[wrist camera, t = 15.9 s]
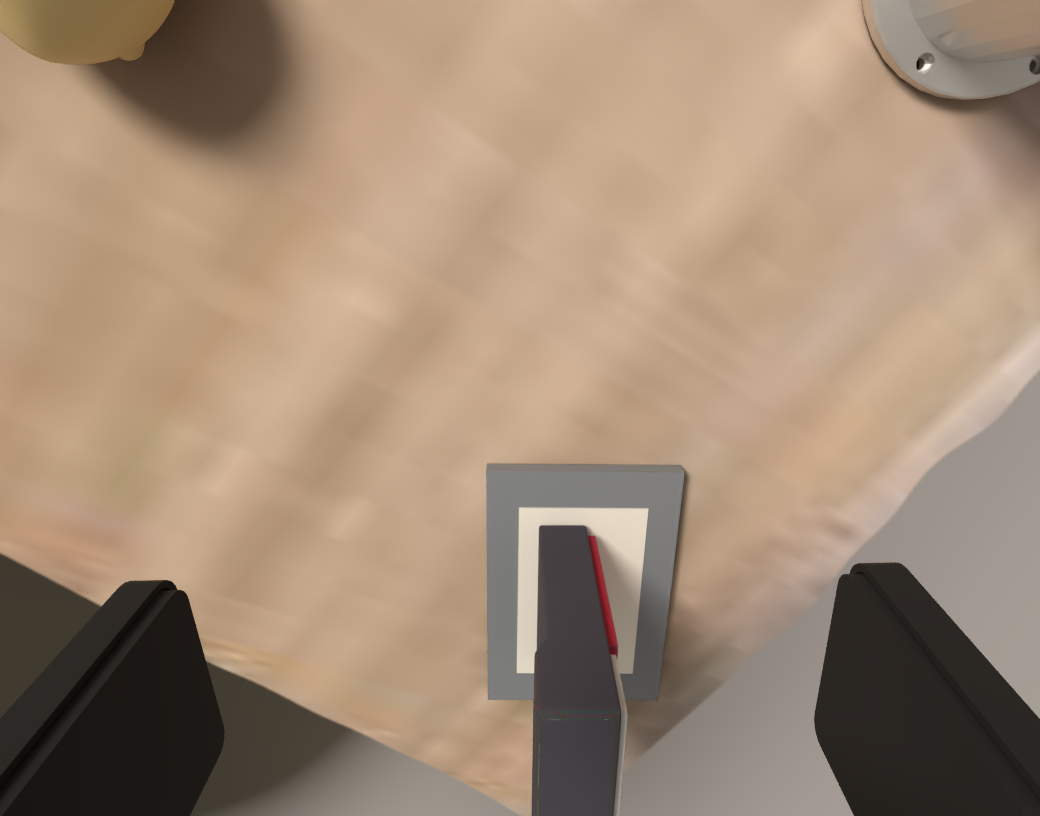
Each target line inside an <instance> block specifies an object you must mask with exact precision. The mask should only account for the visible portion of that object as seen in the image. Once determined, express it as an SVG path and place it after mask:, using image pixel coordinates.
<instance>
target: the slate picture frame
mask: <svg viewBox="0 0 1040 816" xmlns="http://www.w3.org/2000/svg"><path fill="white" fill-rule="evenodd" d="M684 473H685V472H684V471H683V469H682V467H681V465H596V464H487V471H486V477H487V632H488V700H534V657H535V652H536V651H537V602H538V547H539V527H540V526H541V525H584V526H586V528H587V534H588V536H595V537H596V541H597V546H598V551H599V556H600V560H601V565H602V570H603V575H604V580H605V584H606V589H607V594H608V599H609V603H610V608H611V613H612V618H613V623H614V627H615V632H616V637H617V642H618V658H617V662H618V667H619V672H620V677H621V682H622V687H623V692H624V697H625V700H658V695H659V687H660V678H661V670H662V661H663V653H664V644H665V636H666V627H667V618H668V610H669V601H670V593H671V584H672V576H673V567H674V559H675V550H676V541H677V533H678V524H679V516H680V507H681V499H682V490H683V482H684Z"/></svg>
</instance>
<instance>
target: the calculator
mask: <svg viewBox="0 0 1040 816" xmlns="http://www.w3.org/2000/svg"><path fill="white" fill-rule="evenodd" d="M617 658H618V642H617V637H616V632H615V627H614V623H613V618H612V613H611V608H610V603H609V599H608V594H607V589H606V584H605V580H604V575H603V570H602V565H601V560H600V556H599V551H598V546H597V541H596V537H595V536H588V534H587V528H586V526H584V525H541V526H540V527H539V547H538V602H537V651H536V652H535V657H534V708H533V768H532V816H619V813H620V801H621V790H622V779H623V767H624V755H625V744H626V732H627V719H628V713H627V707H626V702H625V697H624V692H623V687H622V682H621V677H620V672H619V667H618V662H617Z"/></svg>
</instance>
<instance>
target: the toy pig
mask: <svg viewBox="0 0 1040 816" xmlns="http://www.w3.org/2000/svg"><path fill="white" fill-rule="evenodd" d="M174 1H175V0H0V32H1V33H2V34H4V35H5V36H6V37H7V38H9V39H10V40H11V41H12V42H14V43H15V44H16V45H18V46H19V47H21V48H22V49H24V50H25V51H27V52H28V53H30V54H32V55H34V56H36V57H38V58H40V59H43V60H46V61H49V62H54V63H61V64H75V65H81V64H94V63H101V62H105V61H109V60H113V59H116V58H118V57H119V58H121V59H123V60H127V61H132V60H136V59H138V58H139V57H140V56H141V55H142V54H143V51H144V48H145V42H146V41H147V40H148V39H149V38H150V37H151V36H152V35H153V34H154V33H155V32H156V31H157V30H158V29H159V28H160V26H161V25H162V24H163V22H164V21H165V19H166V18H167V16H168V14H169V12H170V11H171V8H172V6H173V4H174Z"/></svg>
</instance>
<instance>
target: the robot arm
mask: <svg viewBox="0 0 1040 816" xmlns="http://www.w3.org/2000/svg"><path fill="white" fill-rule="evenodd" d="M862 3H863V11H864V16H865V19H866V22H867V25H868V29H869V32H870V35H871V38H872V40H873V42H874V44H875V45H876V47H877V49H878V51H879V52H880V54H881V56H882V58H883V59H884V61H885V62H886V63H887V64H888V65H889V66H890V67H891V68H892V69H893V71H894V72H895V73H896V74H897V75H898V76H899V77H900V78H902V79H903V80H905V81H906V82H908V83H909V84H911V85H912V86H914V87H915V88H917V89H918V90H921V91H923V92H926V93H929V94H932V95H934V96H937V97H941V98H949V99H957V100H969V99H985V98H990V97H996V96H1001V95H1006V94H1011V93H1013V92H1016V91H1018V90H1021V89H1023V88H1026V87H1029V86H1031V85H1034V84H1036V83H1038V82H1039V81H1040V0H862ZM917 60H918V61H919V67H918V69H917V68H916V62H917ZM814 722H815V730H816V735H817V738H818V741H819V744H820V746H821V748H822V750H823V752H824V754H825V756H826V758H827V761H828V763H829V765H830V767H831V769H832V771H833V773H834V775H835V777H836V779H837V781H838V783H839V786H840V788H841V790H842V791H843V794H844V796H845V798H846V800H847V802H848V804H849V806H850V808H851V810H852V812H853V814H854V816H1040V719H1039V718H1038V717H1037V715H1036V714H1035V713H1034V712H1033V711H1032V710H1031V709H1030V708H1029V706H1028V705H1027V704H1026V703H1025V702H1024V701H1023V700H1022V699H1021V697H1020V696H1019V695H1018V694H1017V693H1016V692H1015V690H1014V689H1013V688H1012V687H1011V686H1010V685H1009V684H1008V683H1007V681H1006V680H1005V679H1004V678H1003V677H1002V676H1001V675H1000V674H999V672H998V671H997V670H996V669H995V668H994V667H993V666H992V665H991V663H990V662H989V661H988V660H987V659H986V658H985V656H984V655H983V654H982V653H981V652H980V651H979V650H978V649H977V648H976V646H975V645H974V644H973V643H972V642H971V641H970V639H969V638H968V637H967V636H966V635H965V634H964V633H963V632H962V630H961V629H960V628H959V627H958V626H957V625H956V624H955V622H954V621H953V620H952V619H951V618H950V617H949V616H948V615H947V614H946V612H945V611H944V610H943V609H942V608H941V607H940V605H939V604H938V603H937V602H936V601H935V600H934V599H933V598H932V597H931V595H930V594H929V593H928V592H927V591H926V590H925V588H924V587H923V586H922V585H921V584H920V583H919V582H918V580H917V579H916V578H915V577H914V576H913V575H912V574H911V573H910V571H908V569H907V568H906V567H905V566H903V565H902V564H900V563H858V564H855V565H854V566H853V567H852V569H851V571H850V574H844V575H842V576H841V577H840V578H839V581H838V586H837V591H836V597H835V602H834V608H833V614H832V619H831V625H830V631H829V636H828V642H827V647H826V654H825V659H824V664H823V670H822V676H821V681H820V687H819V693H818V698H817V704H816V710H815V717H814ZM223 742H224V726H223V722H222V718H221V714H220V711H219V707H218V703H217V700H216V696H215V693H214V689H213V685H212V682H211V679H210V675H209V671H208V668H207V664H206V660H205V657H204V653H203V649H202V646H201V642H200V639H199V635H198V631H197V628H196V624H195V621H194V617H193V613H192V610H191V606H190V602H189V599H188V596H187V594H186V593H185V592H184V591H182V590H177V588H176V586H175V585H174V584H173V582H172V581H168V580H153V581H129V582H125V583H124V584H123V585H121V586H120V587H119V588H118V589H117V590H116V591H115V592H114V593H113V595H112V596H111V597H110V598H109V599H108V600H107V601H106V602H105V603H104V605H103V606H102V607H101V608H100V609H99V610H98V611H97V612H96V614H94V616H93V617H92V618H91V619H90V620H89V621H88V622H87V623H86V624H85V625H84V627H83V628H82V629H81V630H80V631H79V632H78V633H77V634H76V635H75V637H74V638H73V639H72V640H71V641H70V642H69V643H68V644H67V645H66V646H65V648H64V649H63V650H62V651H61V652H60V653H59V654H58V656H56V658H55V659H54V660H53V661H52V662H51V663H50V664H49V665H48V666H47V667H46V669H45V670H44V671H43V672H42V673H41V674H40V675H39V676H38V677H37V678H36V680H35V681H34V682H33V683H32V684H31V685H30V686H29V687H28V688H27V689H26V691H25V692H24V693H23V694H22V695H21V696H20V697H19V698H18V699H17V701H16V702H15V703H14V704H13V705H12V706H11V707H10V708H9V709H8V710H7V712H6V713H5V714H4V715H3V716H2V717H1V718H0V816H190V814H191V812H192V810H193V808H194V806H195V804H196V802H197V800H198V798H199V796H200V794H201V792H202V790H203V788H204V785H205V784H206V782H207V780H208V778H209V776H210V774H211V772H212V770H213V768H214V766H215V764H216V762H217V760H218V758H219V755H220V753H221V751H222V747H223Z"/></svg>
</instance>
